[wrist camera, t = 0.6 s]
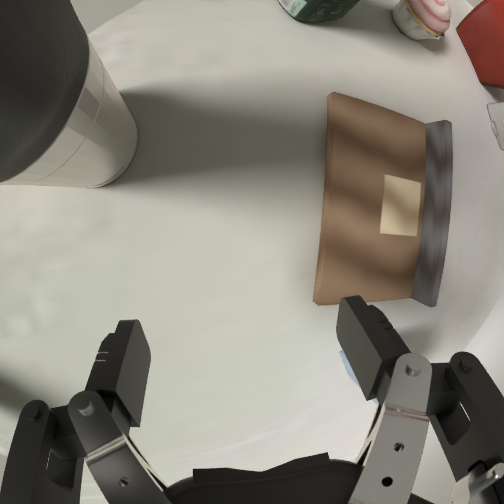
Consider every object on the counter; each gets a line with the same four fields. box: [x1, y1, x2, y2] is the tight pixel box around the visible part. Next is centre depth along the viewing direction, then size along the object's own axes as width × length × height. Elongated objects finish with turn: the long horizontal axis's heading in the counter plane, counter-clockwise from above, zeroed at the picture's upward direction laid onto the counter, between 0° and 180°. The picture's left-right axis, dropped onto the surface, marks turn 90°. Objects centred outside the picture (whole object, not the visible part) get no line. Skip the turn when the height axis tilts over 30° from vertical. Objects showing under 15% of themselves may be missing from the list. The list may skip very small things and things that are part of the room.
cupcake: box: [392, 0, 451, 40], centre depth 25 cm, size 9×9×10 cm
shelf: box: [313, 92, 453, 307], centre depth 31 cm, size 24×17×6 cm
